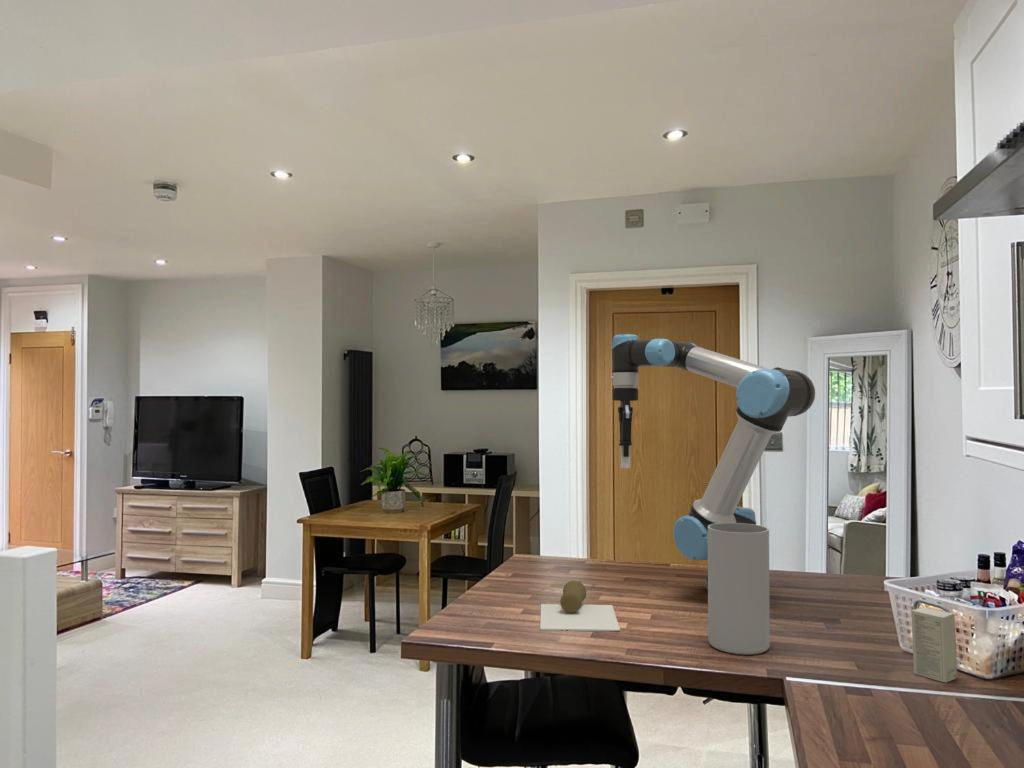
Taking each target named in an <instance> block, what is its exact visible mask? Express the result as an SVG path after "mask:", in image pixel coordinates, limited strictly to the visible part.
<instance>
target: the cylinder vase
mask: <svg viewBox="0 0 1024 768" xmlns="http://www.w3.org/2000/svg"><path fill="white" fill-rule="evenodd" d="M707 574H708V590H707V627H708V628H707V636H708V637H707V639H708V643H709V645H711V646H712V648H714V649H717V650H719V651H721V652H725V653H729V654H733V655H744V656H746V655H747V656H748V655H749V656H750V655H758V654H763V653H765V652H766V651H769V649H770V647H771V646H770V645H771V641H770V639H771V634H770V633H771V631H770V630H771V629H770V627H771V626H770V625H771V624H770V623H771V621H770V603H771V602H770V529H769V528H768V527H766V526H763V525H758V524H756V525H754V524H744V523H716V524H711V525H708V559H707Z"/></svg>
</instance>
